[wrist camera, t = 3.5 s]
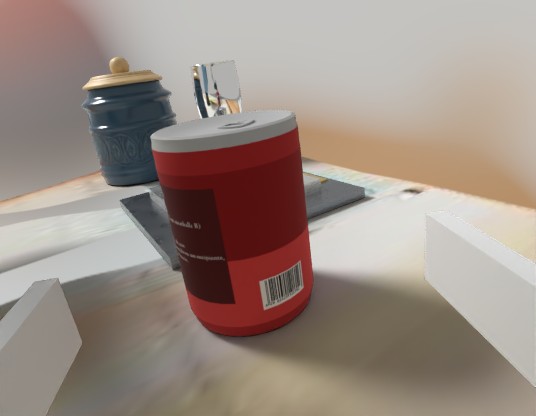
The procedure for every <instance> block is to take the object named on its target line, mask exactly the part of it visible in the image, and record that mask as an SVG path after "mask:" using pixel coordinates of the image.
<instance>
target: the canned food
mask: <svg viewBox="0 0 536 416" xmlns="http://www.w3.org/2000/svg"><path fill="white" fill-rule="evenodd" d="M150 138H151V142H152V151H153V156H154V160H155V164H156V170H157V174H158V178H159V182H160V186H161V190H162V194H163V198H164V202H165V206H166V210H167V214H168V218H169V222H170V226H171V230H172V234H173V238H174V242H175V246H176V250H177V254H178V258H179V262H180V266H181V270H182V274H183V278H184V282H185V286H186V290H187V294H188V298H189V302H190V306H191V309H192V311H193V312H194V314H195V315H196V317H197V318H198V320H199V321H200V322H201V323H202V325H203V326H205V327H206V328H208V329H209V330H211V331H213V332H216V333H218V334H223V335H228V336H250V335H257V334H261V333H265V332H269V331H271V330H274V329H276V328H279V327H281V326H283V325H285V324H286V323H288V322H290V321H291V320H293V319H294V318H295V317H296V316H298V315H299V314H300V313H301V312H302V311H303V309H304V308H305V307H306V305H307V303H308V301H309V300H310V295H311V291H312V286H313V272H312V262H311V252H310V242H309V231H308V221H307V211H306V201H305V191H304V180H303V170H302V160H301V150H300V143H299V135H298V126H297V122H296V117H295V113H293V112H291V111H287V110H261V111H250V112H241V113H233V114H226V115H220V116H213V117H208V118H202V119H198V120H193V121H189V122H184V123H180V124H176V125H172V126H169V127H166V128H163V129H160V130H158V131H156V132H155V133H153V134H152V135H151V136H150Z"/></svg>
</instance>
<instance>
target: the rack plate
mask: <svg viewBox="0 0 536 416" xmlns="http://www.w3.org/2000/svg"><path fill="white" fill-rule="evenodd" d="M303 180H304V191H305V201H306V211H307V219H309V218H311V217H314V216H317V215H319V214H322V213H325V212H327V211H330V210H333V209H335V208H338V207H341V206H343V205H346V204H349V203H351V202H354V201H357V200H359V199H362V198H365V193H364V188H363V187H359V186H355V185H351V184H347V183H344V182H340V181H336V180H332V179H328V178H325V177H321V176H317V175H313V174H309V173H306V172H303ZM148 190H149V192H147V193H144V194H140V195H136V196H133V197H129V198H125V199H122V200H120V204H121V207H122V209H123V210H124V211H125V212H126V214H127V215H128V216H129V217H130V219H131V220H132V221H133V222H134V223H135V225H136V226H137V227H138V228H139V229H140V231H141V232H142V233H143V234H144V236H145V237H146V238H147V239H148V240H149V241H150V243H151V244H152V245H153V246H154V248H155V249H156V250H157V251H158V252H159V254H160V255H161V256H162V257H163V259H164V260H165V261H166V262H167V263H168V265H169V266H170V267H171V268H172V269H176V268H179V267H181V266H180V262H179V258H178V254H177V250H176V246H175V242H174V238H173V234H172V230H171V226H170V222H169V218H168V214H167V210H166V206H165V202H164V198H163V194H162V190H161V186H157V187H153V188H149V189H148Z"/></svg>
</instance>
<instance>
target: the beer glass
mask: <svg viewBox="0 0 536 416" xmlns="http://www.w3.org/2000/svg"><path fill="white" fill-rule="evenodd" d="M191 73H192V83H193V90H194V96H195V100H196V104H197V108H198V111H199V114H200V117H201V119H202V118H208V117H213V116H220V115H226V114H233V113H241V112H242V105H241V93H240V86H239V80H238V76H237V71H236V67H235V62H234V60H231V61H222V62H214V63H207V64H201V65H195V66H191Z"/></svg>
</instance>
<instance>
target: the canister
mask: <svg viewBox="0 0 536 416" xmlns="http://www.w3.org/2000/svg"><path fill="white" fill-rule="evenodd" d="M110 69H111V71H112V73H113V74H110V75H104V76H98V77H93V78H91V79H90V81H89V82H88V83H87V84H86V85H85V86H84V87H83V90H88V95H87V100H86V101H85V102H84V103H83V104H82V105H81V106H82V108H83V109H84V110H86V111H87V113H88V116H89V121H90V127H89V128H88V130H89V131H90V133H91V135H92V139H93V142H94V145H95V149H96V152H97V156H98V159H99V163H100V170H101V172H102V176H103V177H104V179H105V181H106V183H107V184H110V185H132V184H140V183H145V182H150V181H154V180H158V179H159V178H158V174H157V170H156V164H155V160H154V156H153V151H152V142H151V138H150V136H151V135H152V134H153V133H155V132H156V131H158V130H160V129H163V128H166V127H169V126H172V125H176V124H177V123H176V114H175V113H173V111H172V109H171V106H170V102H169V98H170V96H171V92H170V91H168V90H166V89H164V88H163V87H162V85H161V84H160V82H159V80H161V79H162V77H161V76H159V75H157V74H155V73H152V72H151V70H143V71H133V72H129V65H128V63H127V61H126V60H125V59H124V58H122V57H115V58H113V59H112V60H111V61H110Z"/></svg>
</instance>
